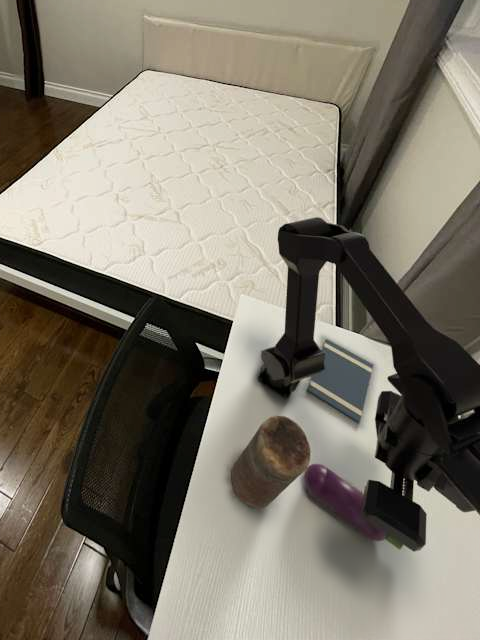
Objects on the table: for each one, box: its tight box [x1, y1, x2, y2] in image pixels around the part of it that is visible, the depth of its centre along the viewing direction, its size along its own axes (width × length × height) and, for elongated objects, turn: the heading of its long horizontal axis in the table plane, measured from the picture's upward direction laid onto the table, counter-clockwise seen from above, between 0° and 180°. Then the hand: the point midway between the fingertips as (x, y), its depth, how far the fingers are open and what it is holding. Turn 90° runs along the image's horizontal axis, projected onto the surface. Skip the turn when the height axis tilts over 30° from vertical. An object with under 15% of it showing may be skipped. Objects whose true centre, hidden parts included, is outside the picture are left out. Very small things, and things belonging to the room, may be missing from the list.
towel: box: [306, 338, 374, 424], centre depth 77 cm, size 10×14×1 cm
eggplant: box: [303, 463, 404, 550], centre depth 59 cm, size 15×5×5 cm, turn 54°
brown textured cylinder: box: [230, 415, 311, 509], centre depth 57 cm, size 8×7×20 cm
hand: (380, 486), depth 54 cm, fingers open, 9 cm apart
